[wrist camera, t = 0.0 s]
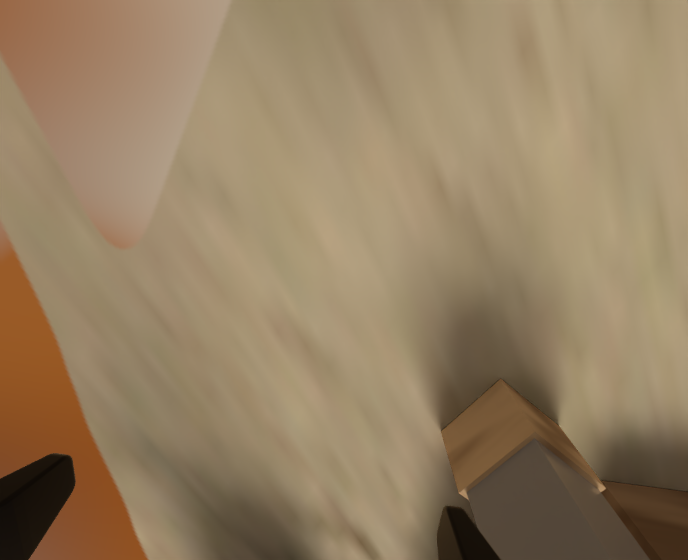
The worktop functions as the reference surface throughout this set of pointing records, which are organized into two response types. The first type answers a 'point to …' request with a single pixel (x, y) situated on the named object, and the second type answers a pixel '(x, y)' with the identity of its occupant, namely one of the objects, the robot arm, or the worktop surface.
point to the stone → (548, 512)
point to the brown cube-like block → (503, 437)
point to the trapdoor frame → (652, 518)
